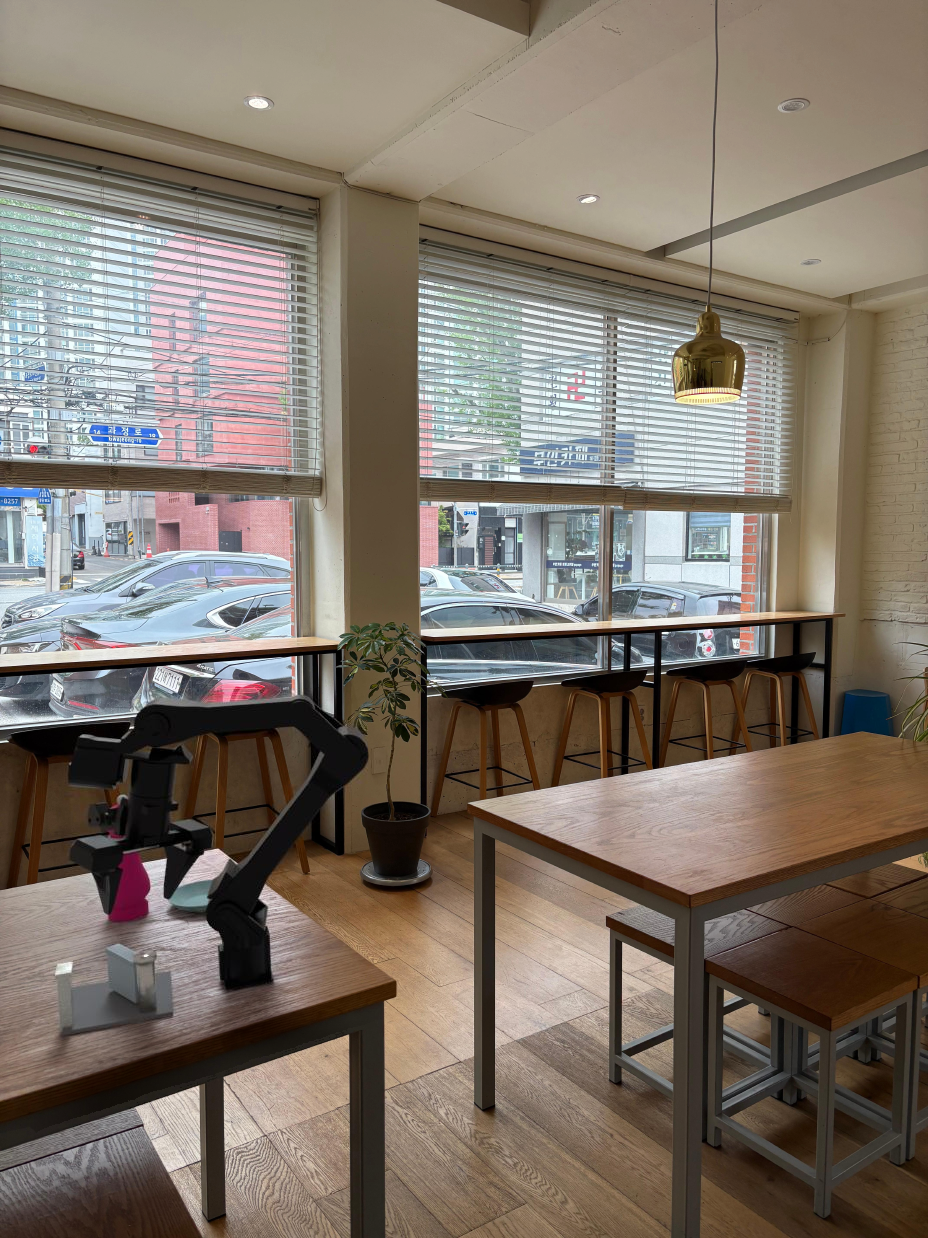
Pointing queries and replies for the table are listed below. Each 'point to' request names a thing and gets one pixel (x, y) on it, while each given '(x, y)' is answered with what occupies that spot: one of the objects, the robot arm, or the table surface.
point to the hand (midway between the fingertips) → (137, 906)
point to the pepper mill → (130, 885)
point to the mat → (115, 1006)
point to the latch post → (65, 994)
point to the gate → (122, 971)
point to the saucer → (192, 896)
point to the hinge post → (146, 980)
